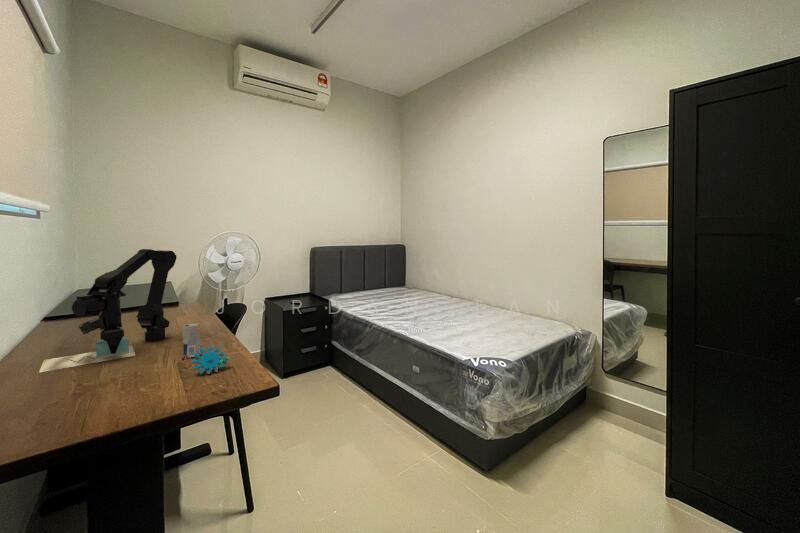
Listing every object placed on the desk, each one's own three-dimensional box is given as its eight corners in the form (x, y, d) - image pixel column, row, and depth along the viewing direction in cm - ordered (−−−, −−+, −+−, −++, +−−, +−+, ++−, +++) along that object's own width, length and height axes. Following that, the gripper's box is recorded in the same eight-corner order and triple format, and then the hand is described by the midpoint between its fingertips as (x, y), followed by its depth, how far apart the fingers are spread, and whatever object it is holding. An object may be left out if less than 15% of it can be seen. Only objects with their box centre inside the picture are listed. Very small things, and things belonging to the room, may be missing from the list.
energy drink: (188, 353, 127) (187, 323, 126) (203, 353, 127) (202, 323, 126) (180, 358, 121) (179, 326, 120) (195, 358, 122) (194, 326, 121)
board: (132, 348, 131) (132, 345, 131) (135, 358, 121) (135, 355, 121) (44, 363, 115) (43, 359, 115) (39, 376, 105) (38, 372, 105)
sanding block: (128, 349, 127) (127, 336, 126) (129, 352, 123) (128, 339, 123) (96, 354, 121) (95, 341, 120) (96, 358, 117) (95, 344, 117)
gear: (191, 374, 104) (193, 345, 110) (189, 382, 108) (191, 354, 114) (229, 371, 110) (230, 345, 116) (227, 379, 114) (227, 353, 120)
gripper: (80, 308, 122) (83, 349, 123) (78, 318, 108) (81, 364, 109) (120, 304, 129) (122, 343, 131) (122, 313, 116) (125, 356, 117)
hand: (112, 351), depth 122 cm, fingers closed on sanding block, 5 cm apart
